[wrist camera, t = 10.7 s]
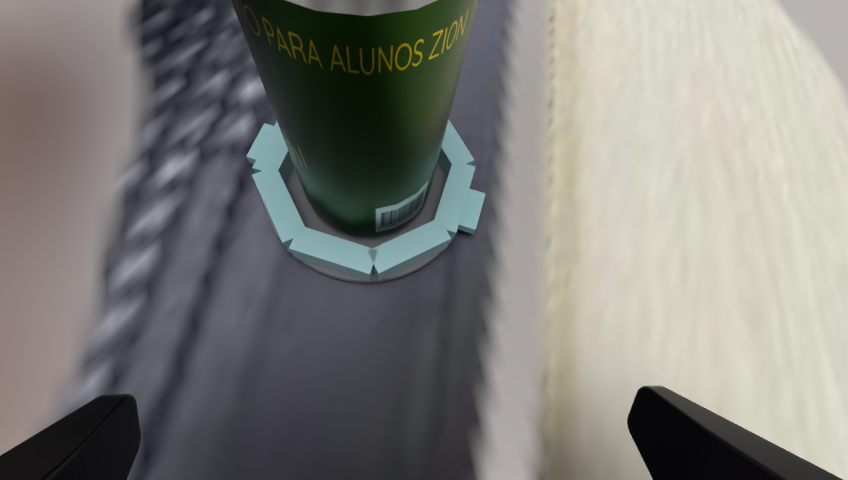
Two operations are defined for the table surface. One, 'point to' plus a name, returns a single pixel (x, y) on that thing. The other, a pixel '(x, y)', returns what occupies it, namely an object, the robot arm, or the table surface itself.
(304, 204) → the teal ring frame
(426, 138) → the beer can
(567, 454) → the table surface
